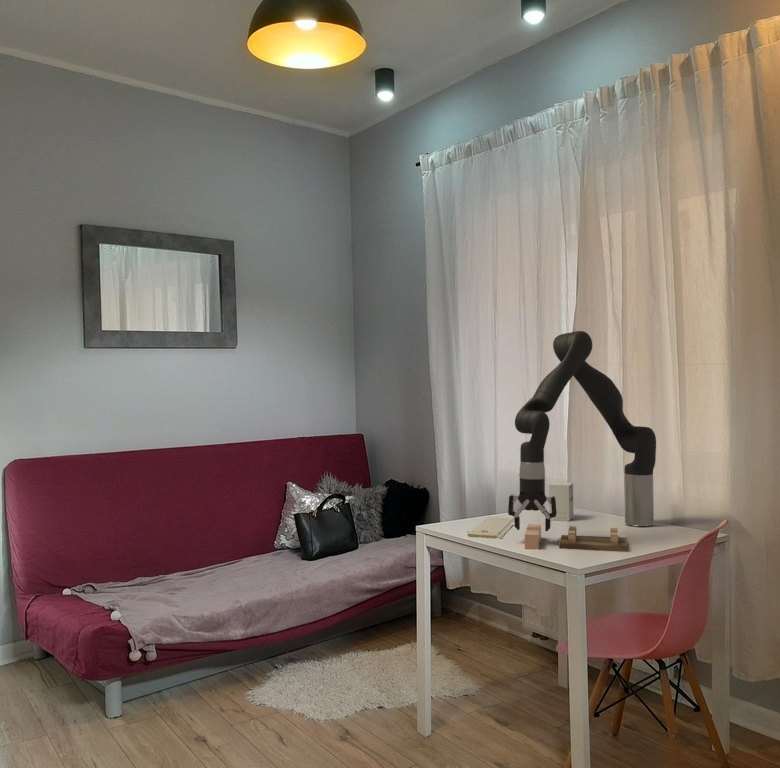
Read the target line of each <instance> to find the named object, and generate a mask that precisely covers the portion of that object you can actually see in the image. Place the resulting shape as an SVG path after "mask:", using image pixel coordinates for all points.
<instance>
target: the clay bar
mask: <svg viewBox="0 0 780 768" xmlns="http://www.w3.org/2000/svg"><path fill="white" fill-rule="evenodd" d="M540 541H542V524H536V523H535V524H532V523H531V524H527V526H526V530H525V532H524V550H536V549H540V546H541V542H540Z"/></svg>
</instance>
